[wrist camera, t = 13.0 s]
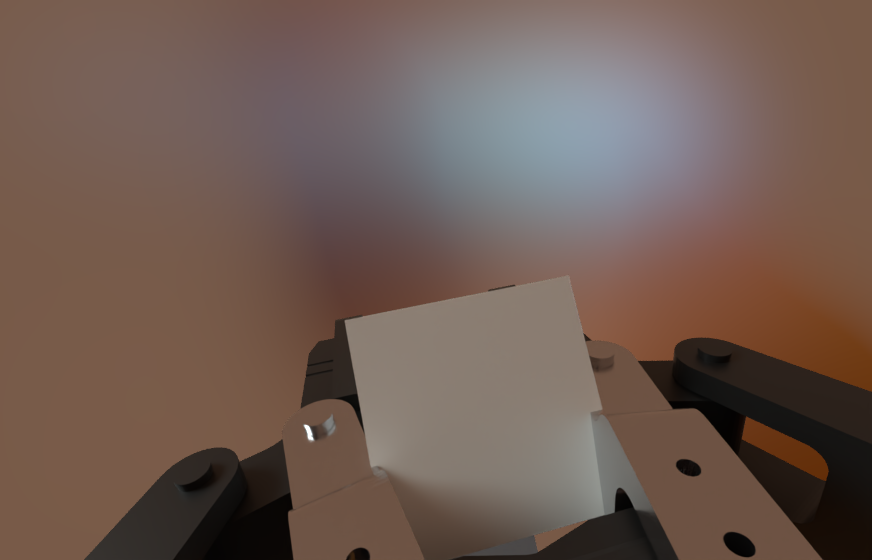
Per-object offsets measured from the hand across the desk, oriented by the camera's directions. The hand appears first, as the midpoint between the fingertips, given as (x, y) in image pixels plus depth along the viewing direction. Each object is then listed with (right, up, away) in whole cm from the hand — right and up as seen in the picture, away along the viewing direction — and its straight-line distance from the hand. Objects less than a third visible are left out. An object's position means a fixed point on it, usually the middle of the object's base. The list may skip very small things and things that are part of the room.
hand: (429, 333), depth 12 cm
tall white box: (0, -4, +5) cm, 6 cm away
